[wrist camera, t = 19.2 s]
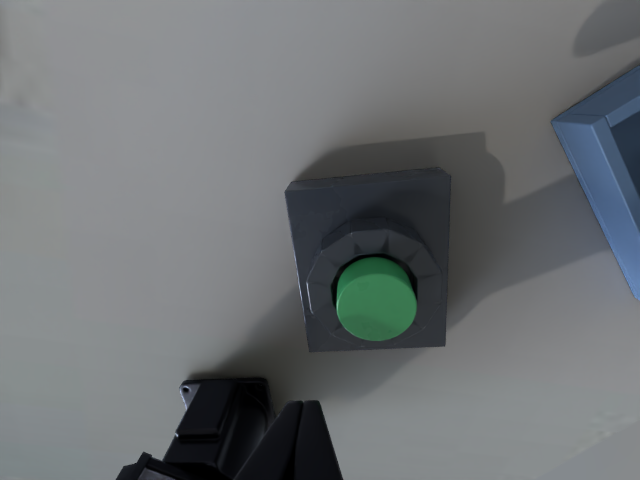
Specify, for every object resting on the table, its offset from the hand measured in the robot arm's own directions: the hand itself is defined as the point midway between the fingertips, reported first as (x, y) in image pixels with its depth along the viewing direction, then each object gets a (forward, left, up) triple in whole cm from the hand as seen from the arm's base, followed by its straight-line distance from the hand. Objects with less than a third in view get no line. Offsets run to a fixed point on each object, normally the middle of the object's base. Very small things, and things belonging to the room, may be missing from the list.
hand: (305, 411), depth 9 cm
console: (-1, -2, -12) cm, 12 cm away
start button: (-1, -2, -8) cm, 9 cm away
